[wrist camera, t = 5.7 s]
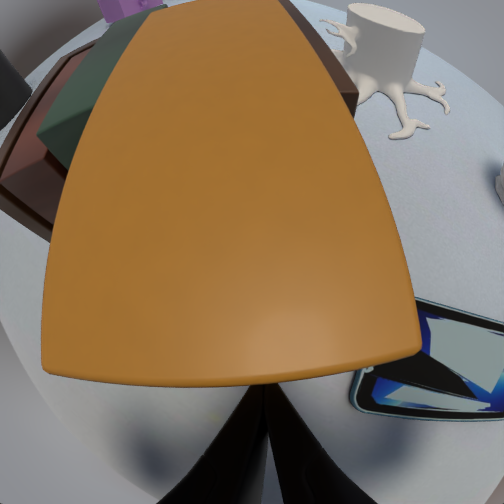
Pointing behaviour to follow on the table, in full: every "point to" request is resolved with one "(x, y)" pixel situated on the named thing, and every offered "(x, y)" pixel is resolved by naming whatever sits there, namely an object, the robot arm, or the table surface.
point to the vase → (11, 91)
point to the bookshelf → (77, 114)
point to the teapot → (124, 8)
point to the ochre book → (223, 217)
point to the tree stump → (384, 58)
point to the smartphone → (440, 371)
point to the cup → (500, 184)
